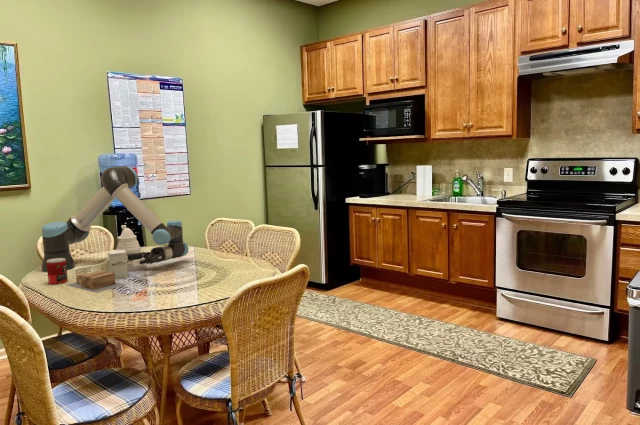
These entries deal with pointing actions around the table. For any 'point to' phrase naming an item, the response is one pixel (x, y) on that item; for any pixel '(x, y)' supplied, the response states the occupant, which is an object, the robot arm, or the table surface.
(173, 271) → the table surface
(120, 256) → the supplement box
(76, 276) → the maple cube
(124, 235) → the honey pot
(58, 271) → the canned food
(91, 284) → the walnut block
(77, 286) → the slate mat
